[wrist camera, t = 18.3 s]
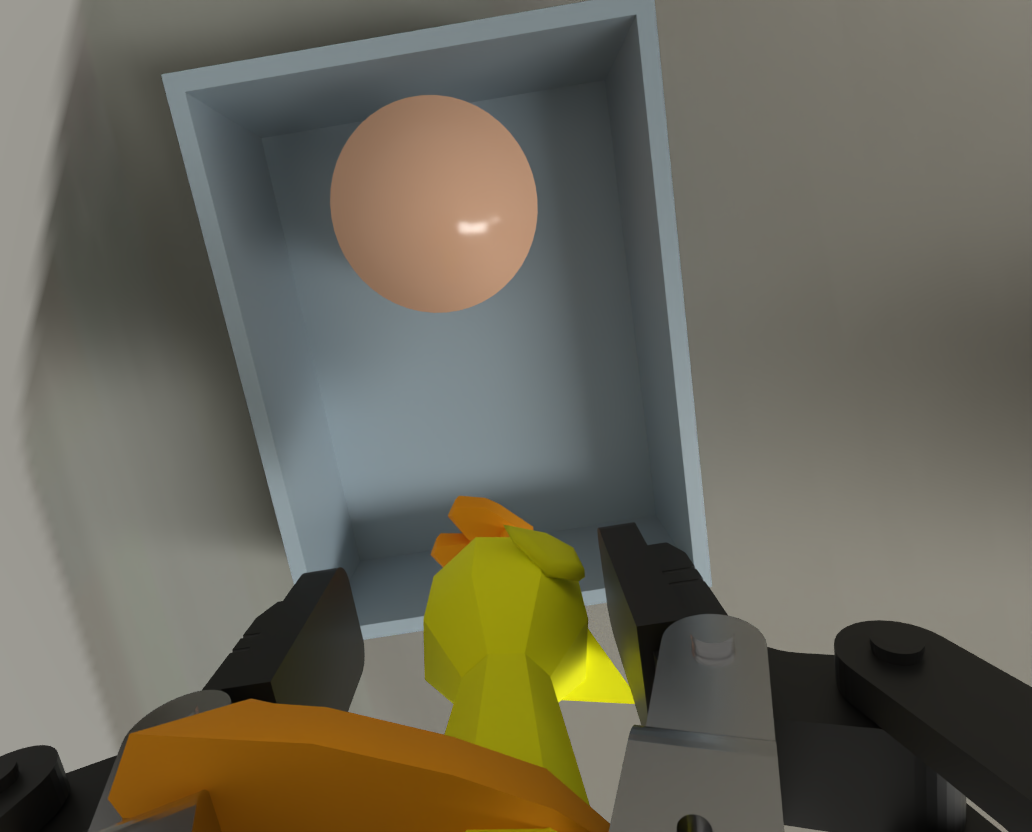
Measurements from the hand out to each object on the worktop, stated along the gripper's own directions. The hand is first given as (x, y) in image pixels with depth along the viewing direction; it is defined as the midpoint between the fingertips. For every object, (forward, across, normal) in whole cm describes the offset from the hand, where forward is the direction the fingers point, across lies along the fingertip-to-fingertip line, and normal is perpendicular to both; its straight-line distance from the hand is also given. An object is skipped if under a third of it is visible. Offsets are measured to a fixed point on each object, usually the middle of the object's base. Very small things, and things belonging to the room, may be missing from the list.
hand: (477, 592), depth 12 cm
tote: (+12, 0, -4) cm, 13 cm away
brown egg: (+11, 0, -8) cm, 14 cm away
